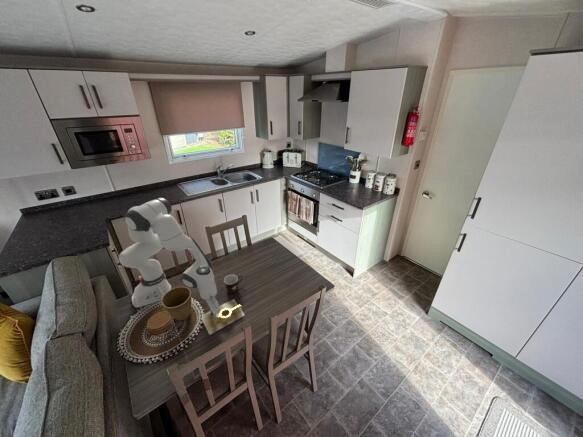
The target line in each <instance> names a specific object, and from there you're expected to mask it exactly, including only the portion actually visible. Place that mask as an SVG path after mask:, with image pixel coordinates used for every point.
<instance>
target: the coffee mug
mask: <svg viewBox="0 0 583 437" xmlns="http://www.w3.org/2000/svg"><path fill="white" fill-rule="evenodd" d="M239 279H240V280H239ZM242 280H243V275H239V276H237V275H236V274H229V275H226V276H225V277H224V278H223V282H224V285H225V288H226V291H227V293H229V294H236V293H237V292H238V289H239V288H238V287H239V286H238V285H239V284H240V283H241V282H242Z"/></svg>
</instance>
